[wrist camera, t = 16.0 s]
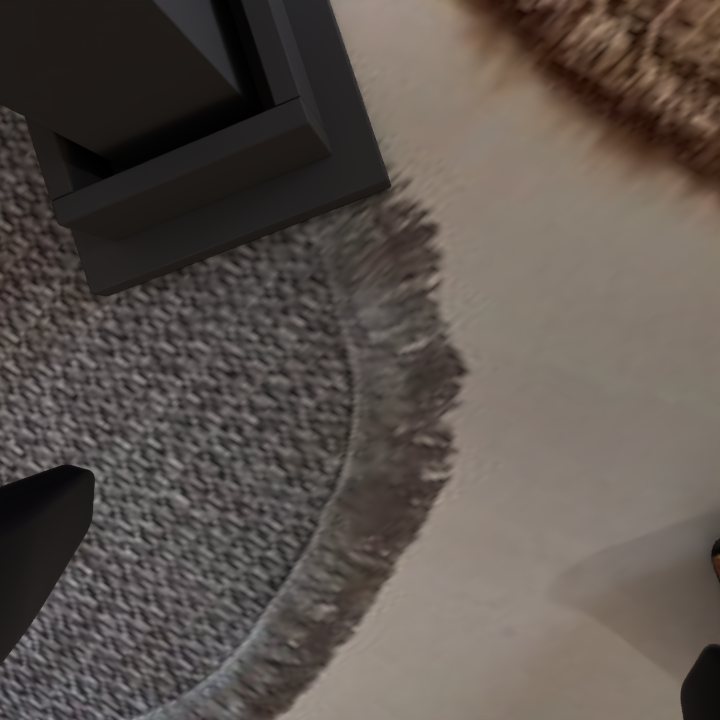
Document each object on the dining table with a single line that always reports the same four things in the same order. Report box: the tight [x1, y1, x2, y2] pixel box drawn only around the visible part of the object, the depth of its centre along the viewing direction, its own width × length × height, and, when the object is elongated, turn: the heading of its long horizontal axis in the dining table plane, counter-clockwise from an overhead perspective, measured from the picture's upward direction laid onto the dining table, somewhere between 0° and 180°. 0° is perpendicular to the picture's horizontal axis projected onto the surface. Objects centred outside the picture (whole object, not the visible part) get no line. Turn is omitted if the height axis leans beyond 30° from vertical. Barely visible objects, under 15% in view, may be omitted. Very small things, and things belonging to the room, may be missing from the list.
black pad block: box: [0, 0, 264, 170], centre depth 17 cm, size 5×5×10 cm
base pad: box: [25, 0, 391, 296], centre depth 21 cm, size 11×11×4 cm
